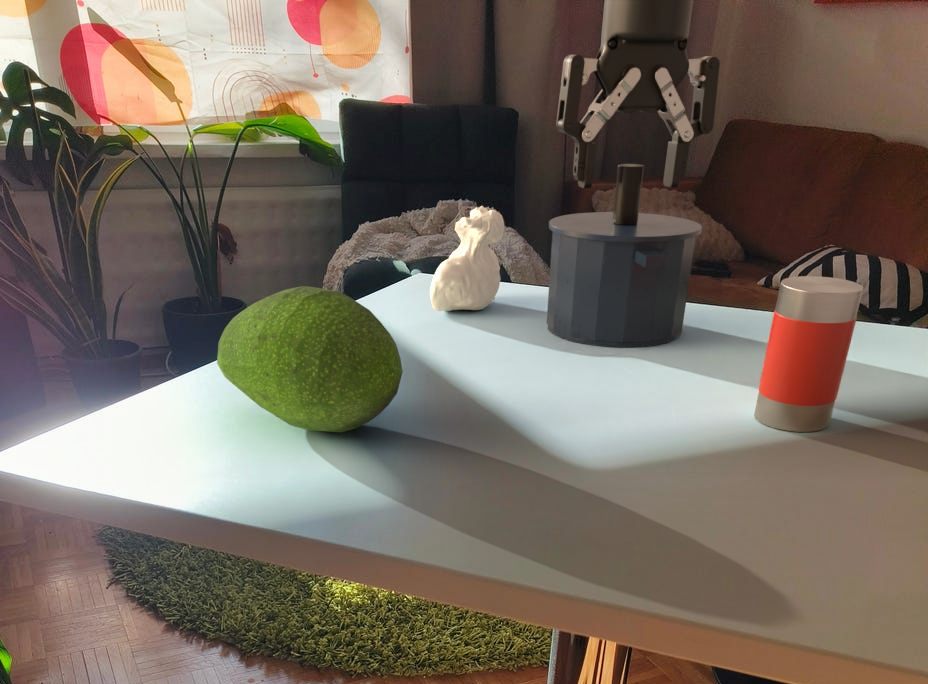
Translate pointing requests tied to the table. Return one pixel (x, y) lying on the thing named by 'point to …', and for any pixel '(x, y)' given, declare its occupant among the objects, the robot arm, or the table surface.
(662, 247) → the pot
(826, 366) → the can
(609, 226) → the lid
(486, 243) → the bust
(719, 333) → the table surface
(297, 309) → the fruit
